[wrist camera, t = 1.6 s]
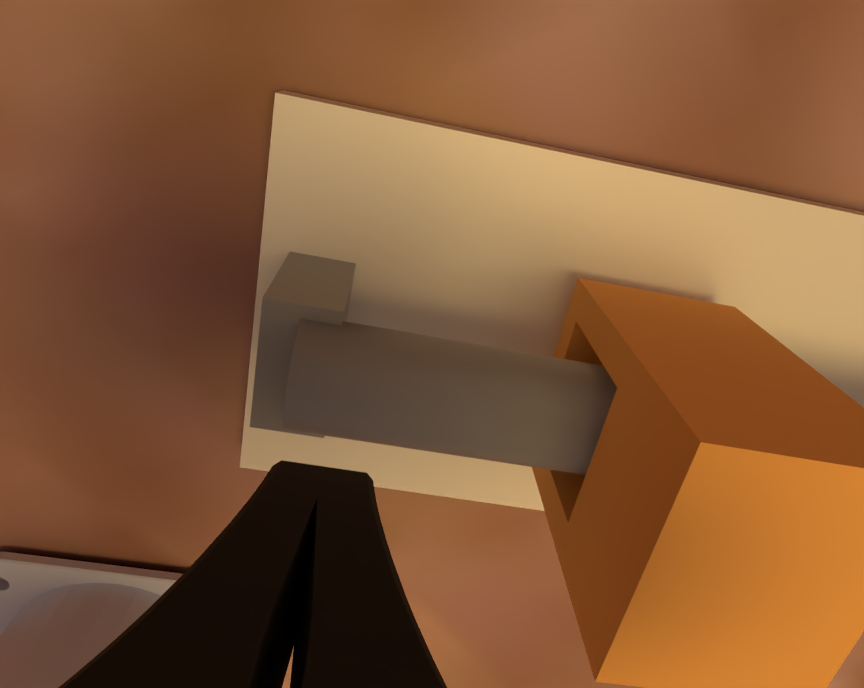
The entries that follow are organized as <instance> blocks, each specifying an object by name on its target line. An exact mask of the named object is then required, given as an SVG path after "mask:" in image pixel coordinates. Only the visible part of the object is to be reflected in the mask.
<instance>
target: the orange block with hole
mask: <svg viewBox="0 0 864 688" xmlns="http://www.w3.org/2000/svg"><path fill="white" fill-rule="evenodd" d="M553 357H556V358H561V359H567V360H573V361H579V362H585V363H591V364H596V365H602V366H604V367H605V369H606V370H607V372H608V374H609V375H610V377H611V378H612V380H613V382H614V383H615V385H616V386H617V390H616V393H615V396H614V399H613V401H612V404H611V407H610V410H609V412H608V415H607V418H606V421H605V423H604V426H603V429H602V432H601V434H600V437H599V440H598V443H597V445H596V448H595V451H594V454H593V456H592V459H591V462H590V465H589V467H588V470H587V473H586V475H582V474H575V473H569V472H562V471H555V470H549V469H542V468H535V467H532V470H533V473H534V476H535V480H536V483H537V486H538V490H539V493H540V497H541V500H542V503H543V507H544V510H545V514H546V517H547V520H548V524H549V527H550V530H551V534H552V537H553V541H554V544H555V547H556V551H557V554H558V557H559V561H560V564H561V568H562V571H563V574H564V578H565V581H566V585H567V588H568V591H569V595H570V598H571V601H572V605H573V608H574V612H575V615H576V618H577V622H578V625H579V628H580V632H581V635H582V639H583V642H584V645H585V649H586V652H587V656H588V659H589V662H590V666H591V669H592V672H593V676H594V679H595V682H602V683H611V684H620V685H629V686H638V687H647V688H827V686H828V685H829V683H830V682H831V680H832V678H833V677H834V675H835V674H836V672H837V671H838V669H839V668H840V666H841V665H842V663H843V662H844V660H845V659H846V657H847V656H848V654H849V653H850V651H851V650H852V648H853V647H854V645H855V644H856V642H857V640H858V639H859V637H860V636H861V634H862V633H863V631H864V408H863V407H862V406H861V405H859V404H858V403H857V402H856V401H854V400H853V399H852V398H850V397H849V396H848V395H847V394H845V393H844V392H843V391H842V390H840V389H839V388H838V387H836V386H835V385H834V384H833V383H831V382H830V381H829V380H828V379H826V378H825V377H824V376H822V375H821V374H820V373H819V372H817V371H816V370H815V369H814V368H812V367H811V366H810V365H808V364H807V363H806V362H805V361H803V360H802V359H801V358H800V357H798V356H797V355H796V354H794V353H793V352H792V351H791V350H789V349H788V348H787V347H785V346H784V345H783V344H782V343H780V342H779V341H778V340H777V339H775V338H774V337H773V336H771V335H770V334H769V333H768V332H766V331H765V330H764V329H763V328H761V327H760V326H759V325H757V324H756V323H755V322H754V321H752V320H751V319H750V318H749V317H747V316H746V315H745V314H743V313H742V312H741V311H740V310H738V309H737V308H736V307H733V306H728V305H723V304H717V303H712V302H707V301H701V300H696V299H691V298H685V297H680V296H675V295H669V294H664V293H658V292H653V291H648V290H642V289H637V288H632V287H626V286H621V285H616V284H610V283H605V282H600V281H594V280H589V279H584V278H577V282H576V285H575V288H574V291H573V295H572V298H571V301H570V304H569V307H568V311H567V314H566V317H565V320H564V324H563V327H562V330H561V333H560V337H559V340H558V343H557V346H556V349H555V353H554V356H553Z"/></svg>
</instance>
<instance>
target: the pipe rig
mask: <svg viewBox="0 0 864 688" xmlns="http://www.w3.org/2000/svg"><path fill="white" fill-rule="evenodd" d="M577 278H584V279H589V280H594V281H600V282H605V283H610V284H616V285H621V286H626V287H632V288H637V289H642V290H648V291H653V292H658V293H664V294H669V295H675V296H680V297H685V298H691V299H696V300H701V301H707V302H712V303H717V304H723V305H728V306H733V307H736V308H737V309H738V310H740V311H741V312H742V313H743V314H745V315H746V316H747V317H749V318H750V319H751V320H752V321H754V322H755V323H756V324H757V325H759V326H760V327H761V328H763V329H764V330H765V331H766V332H768V333H769V334H770V335H771V336H773V337H774V338H775V339H777V340H778V341H779V342H780V343H782V344H783V345H784V346H785V347H787V348H788V349H789V350H791V351H792V352H793V353H794V354H796V355H797V356H798V357H800V358H801V359H802V360H803V361H805V362H806V363H807V364H808V365H810V366H811V367H812V368H814V369H815V370H816V371H817V372H819V373H820V374H821V375H822V376H824V377H825V378H826V379H828V380H829V381H830V382H831V383H833V384H834V385H835V386H836V387H838V388H839V389H840V390H842V391H843V392H844V393H845V394H847V395H848V396H849V397H850V398H852V399H853V400H854V401H856V402H857V403H858V404H859V405H861V406H862V407H863V408H864V212H862V211H857V210H852V209H848V208H843V207H838V206H833V205H829V204H824V203H819V202H814V201H809V200H805V199H800V198H795V197H790V196H786V195H781V194H776V193H771V192H767V191H762V190H757V189H752V188H748V187H743V186H738V185H733V184H728V183H724V182H719V181H714V180H709V179H705V178H700V177H695V176H690V175H686V174H681V173H676V172H671V171H667V170H662V169H657V168H652V167H647V166H643V165H638V164H633V163H628V162H624V161H619V160H614V159H609V158H605V157H600V156H595V155H590V154H586V153H581V152H576V151H571V150H566V149H562V148H557V147H552V146H547V145H543V144H538V143H533V142H528V141H524V140H519V139H514V138H509V137H505V136H500V135H495V134H490V133H485V132H481V131H476V130H471V129H466V128H462V127H457V126H452V125H447V124H443V123H438V122H433V121H428V120H424V119H419V118H414V117H409V116H404V115H400V114H395V113H390V112H385V111H381V110H376V109H371V108H366V107H362V106H357V105H352V104H347V103H343V102H338V101H333V100H328V99H323V98H319V97H314V96H309V95H304V94H300V93H295V92H290V91H285V90H282V91H279V92H276V93H275V100H274V110H273V121H272V131H271V142H270V153H269V163H268V174H267V184H266V195H265V205H264V216H263V227H262V237H261V248H260V258H259V269H258V279H257V290H256V301H255V311H254V322H253V332H252V343H251V353H250V364H249V375H248V385H247V396H246V406H245V417H244V427H243V438H242V449H241V459H240V467H241V468H248V469H255V470H262V471H270V469H271V467H272V466H273V465H275V464H276V463H278V462H280V461H281V460H283V461H290V462H297V463H304V464H310V465H317V466H324V467H331V468H338V469H345V470H352V471H358V472H365V473H368V475H369V476H370V477H371V478H372V480H373V483H374V487H381V488H388V489H395V490H402V491H409V492H416V493H423V494H430V495H437V496H444V497H451V498H458V499H465V500H472V501H479V502H486V503H493V504H500V505H507V506H514V507H521V508H528V509H535V510H542V511H545V510H544V507H543V503H542V500H541V497H540V493H539V490H538V486H537V483H536V480H535V476H534V473H533V470H532V467H535V468H542V469H549V470H555V471H562V472H569V473H575V474H582V475H586V473H587V470H588V467H589V465H590V462H591V459H592V456H593V454H594V451H595V448H596V445H597V443H598V440H599V437H600V434H601V432H602V429H603V426H604V423H605V421H606V418H607V415H608V412H609V410H610V407H611V404H612V401H613V399H614V396H615V393H616V390H617V386H616V385H615V383H614V382H613V380H612V378H611V377H610V375H609V374H608V372H607V370H606V369H605V367H604V366H602V365H596V364H591V363H585V362H579V361H573V360H567V359H561V358H556V357H553V356H554V353H555V349H556V346H557V343H558V340H559V337H560V333H561V330H562V327H563V324H564V320H565V317H566V314H567V311H568V307H569V304H570V301H571V298H572V295H573V291H574V288H575V285H576V282H577Z"/></svg>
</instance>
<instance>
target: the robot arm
mask: <svg viewBox="0 0 864 688" xmlns="http://www.w3.org/2000/svg"><path fill="white" fill-rule="evenodd" d="M4 579H5V580H4ZM293 646H294V652H293V662H292V672H291V683H290V688H447V687H446V685H445V683H444V680H443V678H442V676H441V674H440V672H439V670H438V668H437V666H436V664H435V662H434V660H433V658H432V656H431V654H430V652H429V649H428V647H427V645H426V643H425V640H424V638H423V636H422V634H421V631H420V629H419V627H418V624H417V622H416V620H415V618H414V615H413V613H412V610H411V608H410V605H409V603H408V600H407V598H406V595H405V593H404V590H403V587H402V585H401V582H400V579H399V576H398V574H397V571H396V568H395V565H394V562H393V560H392V557H391V554H390V551H389V548H388V544H387V541H386V538H385V534H384V531H383V527H382V524H381V520H380V516H379V512H378V508H377V503H376V498H375V492H374V483H373V480H372V478H371V477H370V476H369V475H368V473H365V472H358V471H352V470H345V469H338V468H331V467H324V466H317V465H310V464H304V463H297V462H290V461H283V460H281V461H280V462H278V463H276V464H275V465H273V466H272V467H271V469H270V471H269V472H268V474H267V476H266V477H265V478H264V480H263V481H262V483H261V484H260V486H259V487H258V488H257V490H256V491H255V492H254V494H253V495H252V496H251V498H250V499H249V500H248V502H247V503H246V504H245V505H244V506H243V508H242V509H241V510H240V511H239V513H238V514H237V515H236V516H235V518H234V519H233V520H232V521H231V522H230V523H229V525H228V526H227V527H226V528H225V529H224V530H223V531H222V532H221V534H220V535H219V536H218V537H217V538H216V539H215V540H214V541H213V543H212V544H211V545H210V546H209V547H208V548H207V549H206V550H205V552H204V553H203V554H202V555H201V556H200V557H199V558H198V559H197V560H196V561H195V562H194V564H193V565H192V566H191V567H190V568H189V569H188V570H187V571H186V572H185V573H184V574H181V573H173V572H165V571H157V570H149V569H141V568H133V567H125V566H116V565H108V564H100V563H92V562H84V561H76V560H68V559H60V558H52V557H44V556H35V555H27V554H19V553H11V552H0V688H282V685H283V682H284V678H285V675H286V671H287V668H288V664H289V661H290V657H291V653H292V650H293Z"/></svg>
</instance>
